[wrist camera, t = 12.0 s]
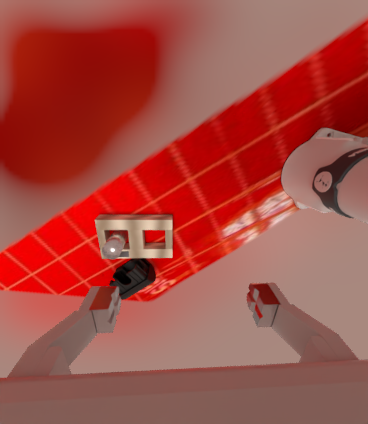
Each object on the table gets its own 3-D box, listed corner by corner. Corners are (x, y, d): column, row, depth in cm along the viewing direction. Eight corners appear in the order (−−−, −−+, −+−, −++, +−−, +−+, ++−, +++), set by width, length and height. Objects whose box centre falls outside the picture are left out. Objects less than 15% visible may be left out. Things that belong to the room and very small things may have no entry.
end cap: (131, 284, 54) (125, 304, 47) (114, 270, 51) (106, 288, 45) (157, 268, 52) (155, 286, 45) (141, 252, 49) (136, 269, 43)
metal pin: (128, 226, 46) (119, 243, 38) (129, 240, 47) (121, 259, 40) (112, 227, 46) (100, 244, 38) (114, 240, 47) (103, 259, 40)
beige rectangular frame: (172, 214, 45) (172, 220, 42) (172, 250, 49) (172, 258, 46) (99, 214, 44) (94, 220, 41) (106, 251, 48) (101, 259, 45)
